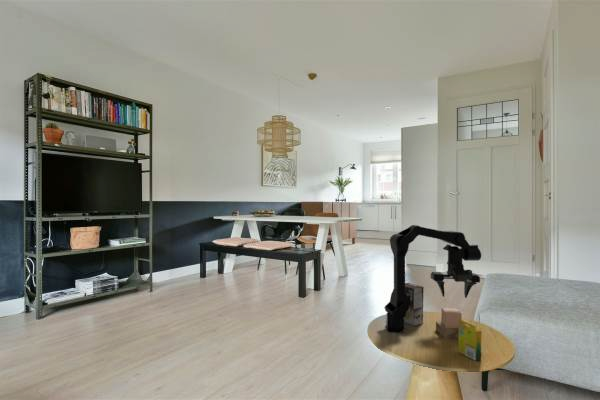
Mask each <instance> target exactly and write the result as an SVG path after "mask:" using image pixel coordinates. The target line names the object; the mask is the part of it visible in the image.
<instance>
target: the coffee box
mask: <svg viewBox="0 0 600 400" xmlns="http://www.w3.org/2000/svg"><path fill="white" fill-rule="evenodd" d="M405 291H406V293H407V294H409V295H410V297H411V298H410V304H411V306H410V305H409V310H408V311H407V312H406V314H405V317H404V323H406V324H409V325H411V326H418V325H422V324H423V323H424V286H422V285H417V284H414V283H411V282H405Z"/></svg>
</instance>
